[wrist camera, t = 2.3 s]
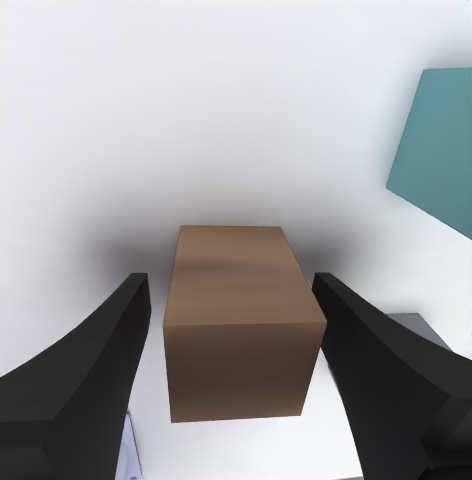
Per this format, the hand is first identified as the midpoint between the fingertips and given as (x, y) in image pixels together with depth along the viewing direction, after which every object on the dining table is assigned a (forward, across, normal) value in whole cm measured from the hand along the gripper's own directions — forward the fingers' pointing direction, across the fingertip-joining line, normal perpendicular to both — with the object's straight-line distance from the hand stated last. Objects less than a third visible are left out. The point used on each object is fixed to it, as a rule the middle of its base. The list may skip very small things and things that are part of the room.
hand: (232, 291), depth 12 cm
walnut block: (+2, 0, 0) cm, 2 cm away
